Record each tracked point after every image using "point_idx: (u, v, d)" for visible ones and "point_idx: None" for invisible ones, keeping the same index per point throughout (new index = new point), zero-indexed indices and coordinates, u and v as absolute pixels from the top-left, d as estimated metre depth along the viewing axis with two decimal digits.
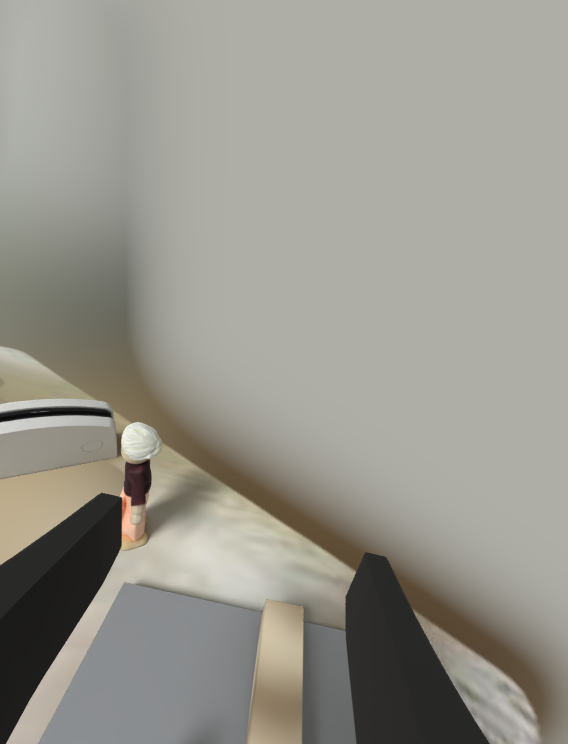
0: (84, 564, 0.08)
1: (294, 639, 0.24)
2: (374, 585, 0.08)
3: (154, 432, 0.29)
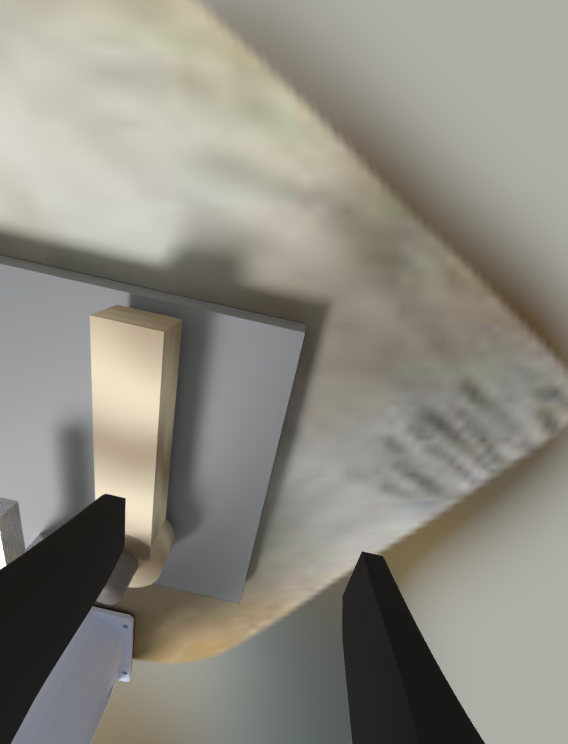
0: (88, 565, 0.08)
1: (145, 382, 0.14)
2: (370, 584, 0.08)
3: None
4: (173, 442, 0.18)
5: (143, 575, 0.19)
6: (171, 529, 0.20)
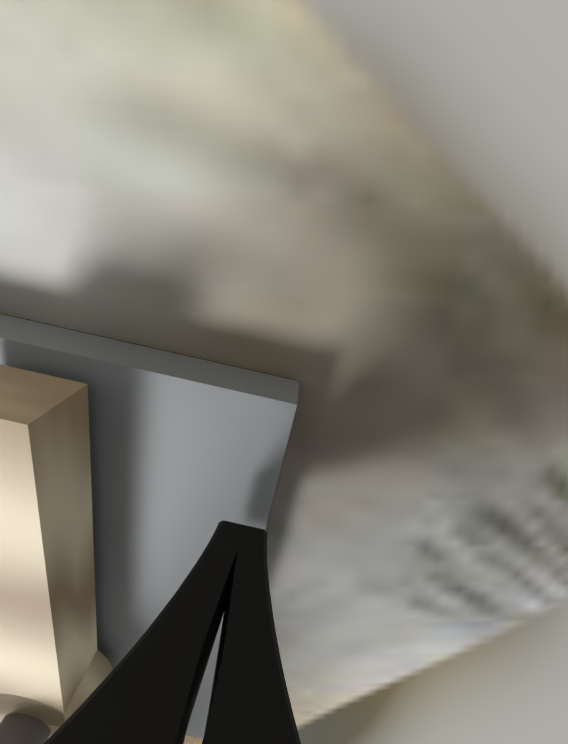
0: (224, 595, 0.08)
1: (11, 503, 0.08)
2: (236, 554, 0.08)
3: None
4: (100, 552, 0.12)
5: None
6: (106, 664, 0.14)
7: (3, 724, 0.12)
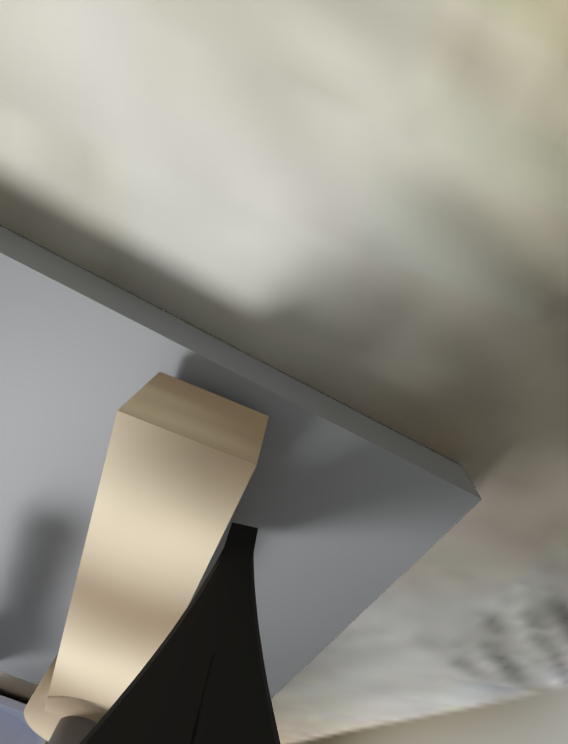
0: None
1: (194, 531, 0.08)
2: (223, 551, 0.08)
3: None
4: (208, 574, 0.12)
5: None
6: None
7: (64, 727, 0.12)
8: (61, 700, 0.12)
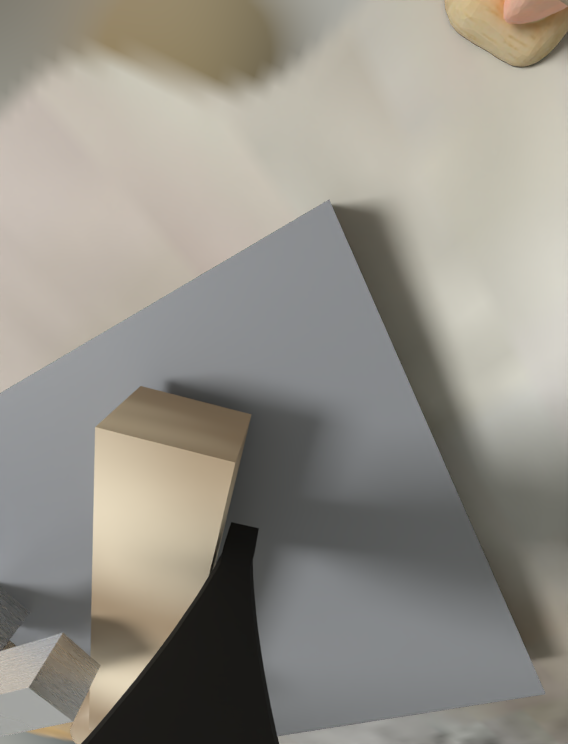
0: None
1: (190, 535, 0.08)
2: (222, 551, 0.08)
3: None
4: (309, 652, 0.14)
5: None
6: None
7: None
8: (102, 718, 0.12)
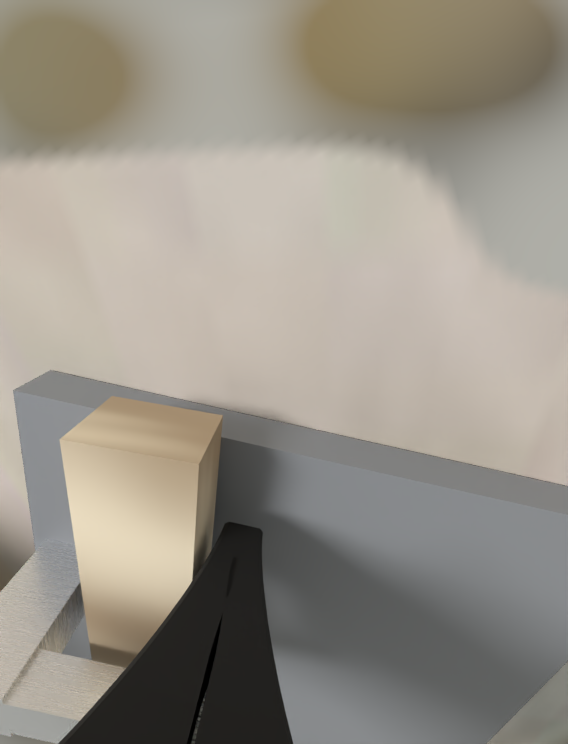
0: None
1: (167, 540, 0.08)
2: (231, 553, 0.08)
3: None
4: (311, 720, 0.16)
5: None
6: None
7: None
8: None
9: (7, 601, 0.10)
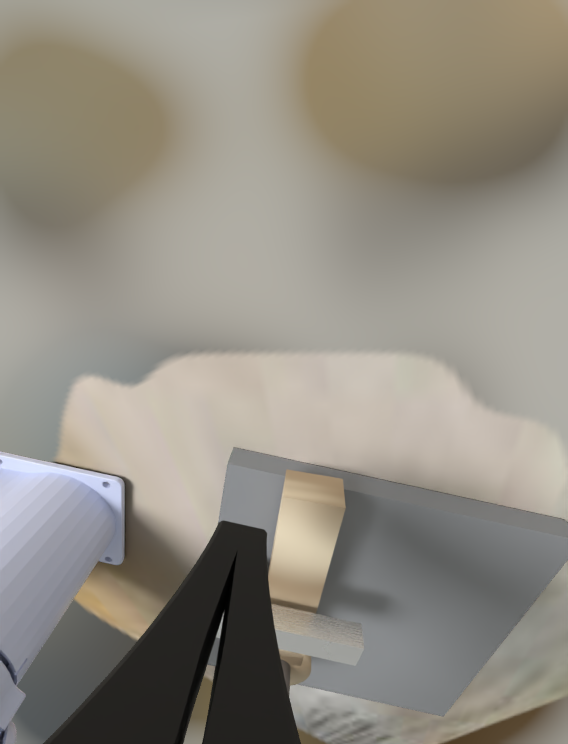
0: (224, 595, 0.08)
1: (322, 541, 0.17)
2: (236, 554, 0.08)
3: None
4: (368, 656, 0.24)
5: (293, 676, 0.22)
6: None
7: None
8: None
9: None
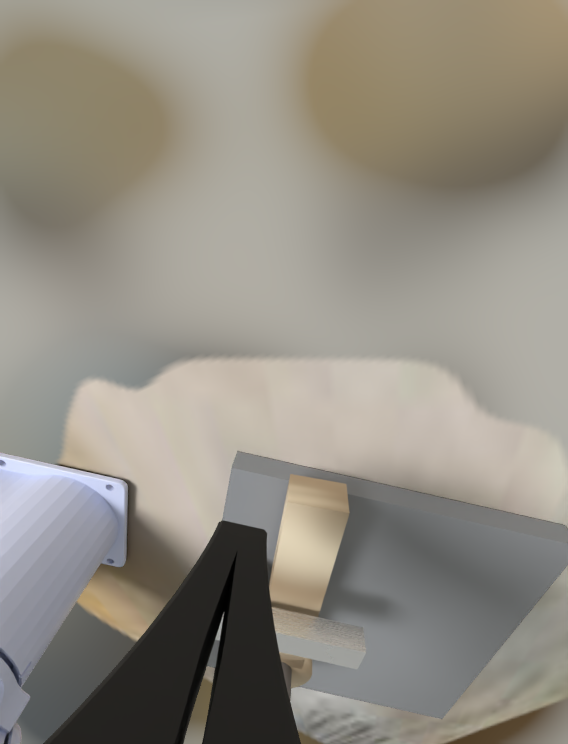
0: (224, 596, 0.08)
1: (326, 546, 0.17)
2: (236, 554, 0.08)
3: None
4: (368, 659, 0.25)
5: (294, 679, 0.22)
6: None
7: None
8: None
9: None
